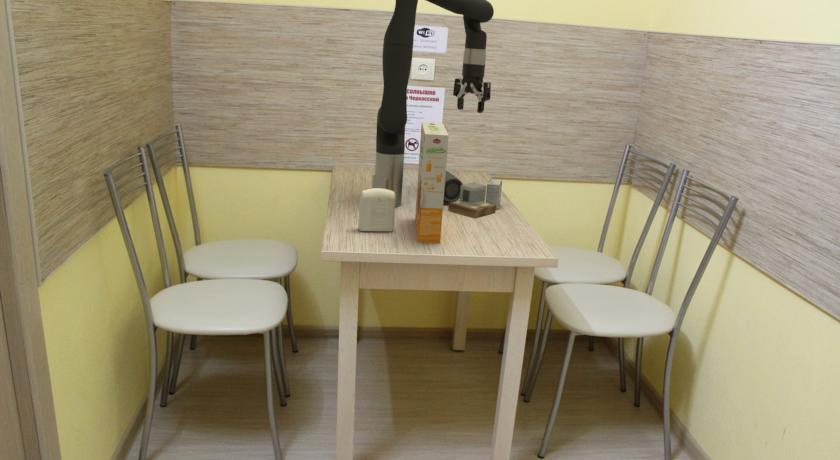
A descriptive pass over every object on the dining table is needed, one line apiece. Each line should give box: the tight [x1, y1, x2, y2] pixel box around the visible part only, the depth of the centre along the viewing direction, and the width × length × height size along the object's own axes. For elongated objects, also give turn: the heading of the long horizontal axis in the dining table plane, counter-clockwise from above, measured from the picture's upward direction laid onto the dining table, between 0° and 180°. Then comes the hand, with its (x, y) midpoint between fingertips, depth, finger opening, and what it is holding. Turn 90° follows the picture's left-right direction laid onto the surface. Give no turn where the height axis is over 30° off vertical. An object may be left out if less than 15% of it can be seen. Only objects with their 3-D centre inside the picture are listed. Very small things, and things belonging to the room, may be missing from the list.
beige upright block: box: [358, 188, 396, 232], centre depth 193 cm, size 10×4×12 cm, turn 103°
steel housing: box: [458, 182, 487, 207], centre depth 220 cm, size 7×5×6 cm
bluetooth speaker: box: [443, 170, 464, 203], centre depth 236 cm, size 23×9×10 cm, turn 20°
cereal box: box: [414, 121, 450, 244], centre depth 193 cm, size 22×6×30 cm, turn 2°
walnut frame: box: [447, 200, 496, 219], centre depth 221 cm, size 11×11×3 cm
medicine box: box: [485, 178, 503, 211], centre depth 228 cm, size 8×4×9 cm, turn 168°
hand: (470, 111), depth 232 cm, fingers open, 8 cm apart
